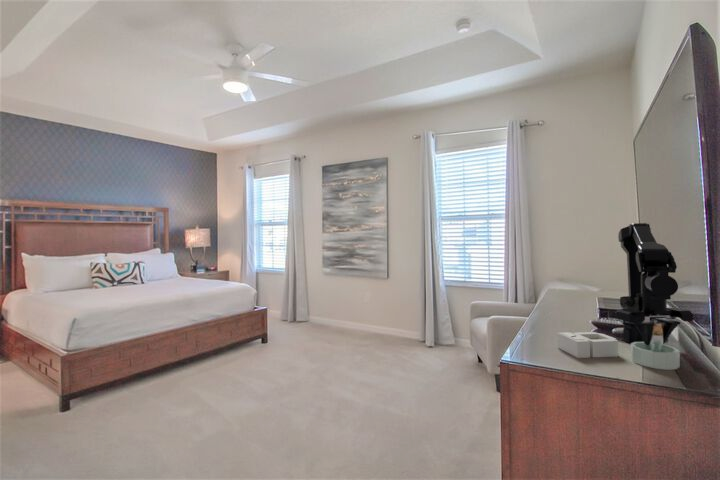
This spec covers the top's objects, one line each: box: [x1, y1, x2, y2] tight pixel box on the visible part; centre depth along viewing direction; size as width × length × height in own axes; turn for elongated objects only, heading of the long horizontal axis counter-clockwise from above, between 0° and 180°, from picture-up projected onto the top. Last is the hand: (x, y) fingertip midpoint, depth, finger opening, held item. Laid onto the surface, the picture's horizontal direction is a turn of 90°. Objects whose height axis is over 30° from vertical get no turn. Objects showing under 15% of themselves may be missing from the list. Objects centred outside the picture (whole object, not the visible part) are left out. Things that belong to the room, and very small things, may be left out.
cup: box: [630, 342, 681, 371], centre depth 103 cm, size 11×11×4 cm
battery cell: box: [645, 320, 663, 352], centre depth 103 cm, size 4×4×10 cm
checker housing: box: [556, 331, 619, 359], centre depth 113 cm, size 10×14×5 cm
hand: (654, 344), depth 103 cm, fingers closed on battery cell, 4 cm apart
